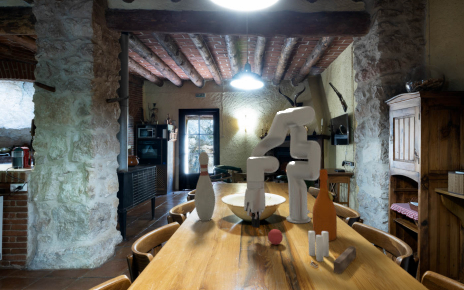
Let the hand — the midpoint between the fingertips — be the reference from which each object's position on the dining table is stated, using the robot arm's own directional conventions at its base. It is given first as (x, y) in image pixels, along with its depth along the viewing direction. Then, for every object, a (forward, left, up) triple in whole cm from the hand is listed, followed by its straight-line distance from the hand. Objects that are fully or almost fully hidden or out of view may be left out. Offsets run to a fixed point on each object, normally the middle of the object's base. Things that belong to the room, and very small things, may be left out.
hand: (255, 227), depth 112 cm
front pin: (-1, +26, -5) cm, 26 cm away
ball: (-1, +10, -2) cm, 10 cm away
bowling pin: (-6, -40, -6) cm, 41 cm away
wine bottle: (-20, +23, -6) cm, 30 cm away
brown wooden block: (-1, +38, -5) cm, 38 cm away
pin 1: (+2, +30, -5) cm, 30 cm away
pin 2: (-3, +30, -5) cm, 30 cm away
